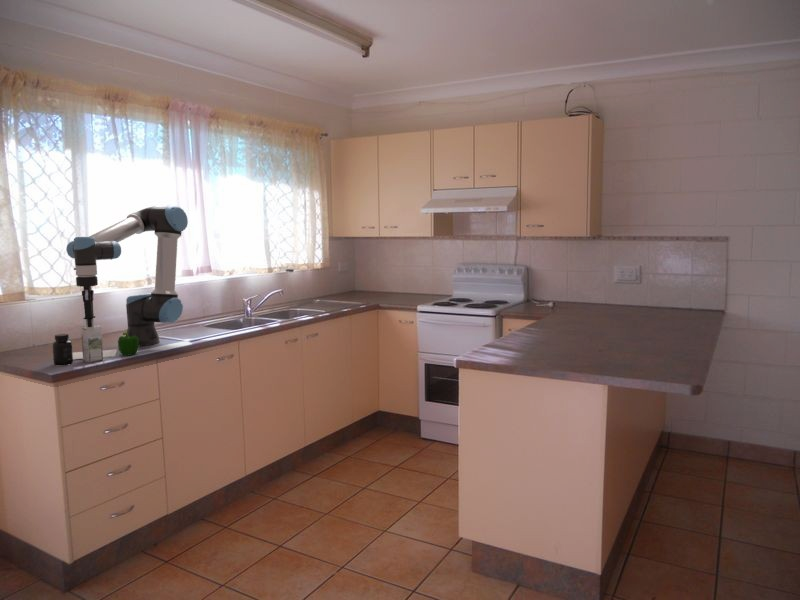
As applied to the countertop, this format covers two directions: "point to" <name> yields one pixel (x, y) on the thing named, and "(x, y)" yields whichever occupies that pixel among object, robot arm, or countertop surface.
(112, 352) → the mat
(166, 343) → the countertop surface
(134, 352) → the bell pepper
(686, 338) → the countertop surface
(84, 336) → the syrup box
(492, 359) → the countertop surface
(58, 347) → the supplement bottle
